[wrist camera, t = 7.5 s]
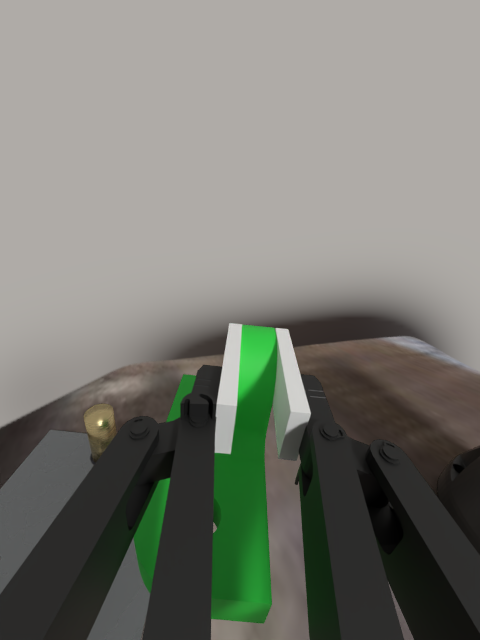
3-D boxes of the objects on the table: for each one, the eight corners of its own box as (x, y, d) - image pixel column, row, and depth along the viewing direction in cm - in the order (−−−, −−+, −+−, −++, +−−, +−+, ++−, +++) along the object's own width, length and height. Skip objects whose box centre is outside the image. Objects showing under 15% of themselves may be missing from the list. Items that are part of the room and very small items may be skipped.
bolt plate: (188, 447, 28) (189, 406, 26) (116, 742, 13) (101, 717, 10) (51, 432, 28) (38, 389, 25) (-185, 715, 13) (-279, 684, 10)
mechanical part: (183, 393, 21) (183, 303, 17) (257, 401, 21) (272, 312, 17) (112, 609, 10) (73, 490, 7) (263, 623, 10) (308, 513, 7)
